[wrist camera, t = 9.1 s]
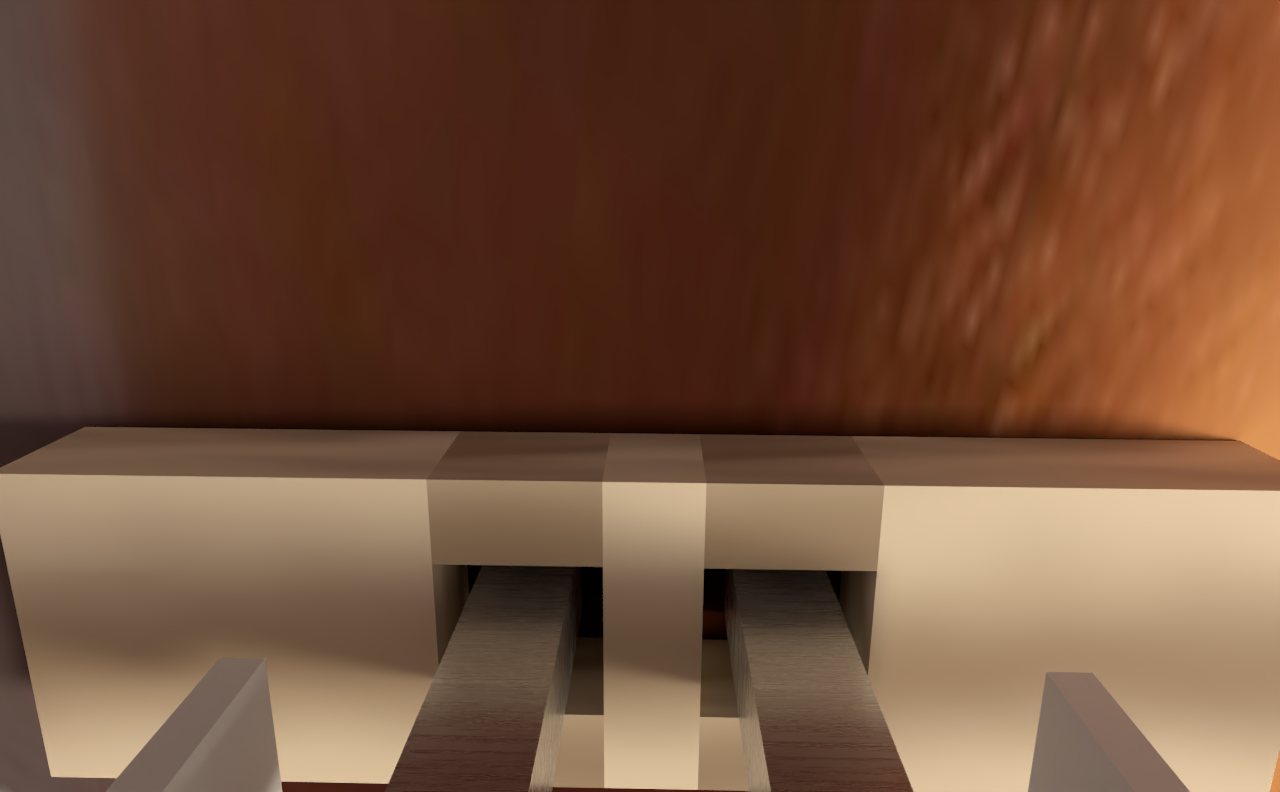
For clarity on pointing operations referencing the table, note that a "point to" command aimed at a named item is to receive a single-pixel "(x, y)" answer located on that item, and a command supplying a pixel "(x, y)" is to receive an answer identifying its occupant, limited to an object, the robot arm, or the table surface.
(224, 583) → the rail
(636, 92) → the table surface
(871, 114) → the table surface
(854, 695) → the clip
